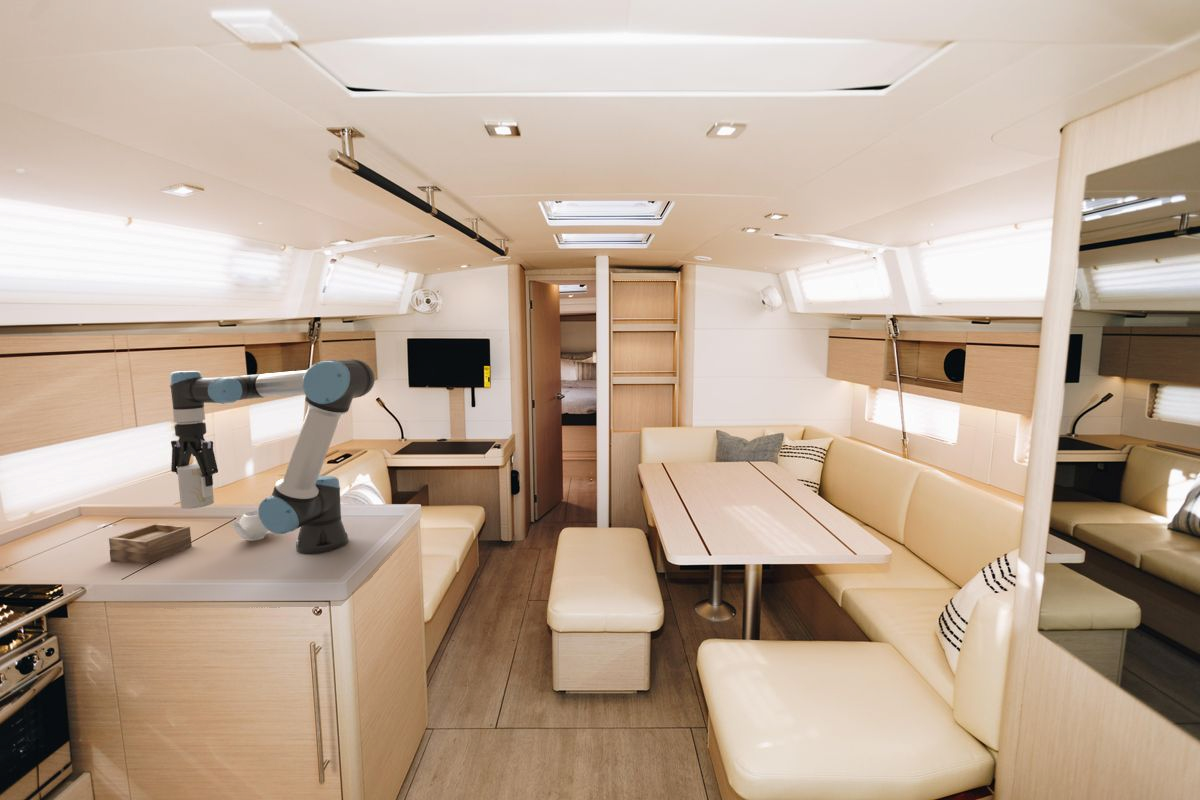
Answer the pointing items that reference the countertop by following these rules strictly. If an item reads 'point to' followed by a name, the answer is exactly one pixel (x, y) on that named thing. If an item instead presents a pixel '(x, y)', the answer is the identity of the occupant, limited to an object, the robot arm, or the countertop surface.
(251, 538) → the teapot
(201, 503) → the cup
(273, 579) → the countertop surface
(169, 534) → the wooden tray
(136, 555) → the tower base
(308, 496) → the robot arm
